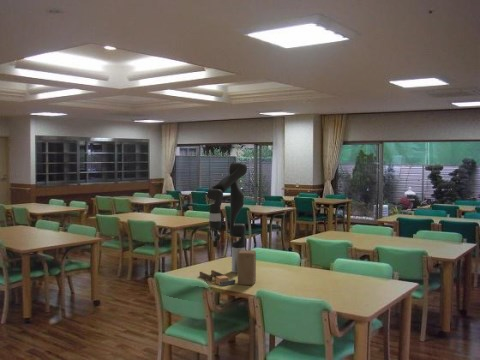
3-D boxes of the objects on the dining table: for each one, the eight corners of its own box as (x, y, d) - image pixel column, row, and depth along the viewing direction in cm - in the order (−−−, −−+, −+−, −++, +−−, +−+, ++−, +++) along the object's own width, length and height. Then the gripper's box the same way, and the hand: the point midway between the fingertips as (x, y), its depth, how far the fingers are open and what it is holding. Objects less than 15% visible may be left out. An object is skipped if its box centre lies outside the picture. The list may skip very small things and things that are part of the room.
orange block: (224, 281, 303) (224, 275, 302) (228, 283, 297) (228, 277, 297) (215, 282, 300) (215, 276, 300) (219, 284, 294) (219, 278, 294)
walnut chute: (212, 274, 321) (212, 269, 321) (224, 279, 307) (224, 274, 307) (199, 276, 316) (199, 271, 316) (210, 281, 302) (210, 276, 302)
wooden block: (253, 285, 292) (253, 253, 291) (237, 284, 294) (237, 252, 293) (256, 281, 301) (256, 250, 301) (240, 281, 303) (240, 249, 303)
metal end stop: (234, 283, 297) (234, 279, 297) (235, 284, 296) (235, 280, 296) (220, 285, 292) (220, 281, 292) (221, 286, 291) (221, 282, 290)
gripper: (225, 220, 303) (225, 247, 303) (215, 218, 314) (215, 244, 315) (214, 221, 299) (214, 249, 300) (205, 219, 310) (205, 245, 311)
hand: (215, 246), depth 307 cm, fingers closed
